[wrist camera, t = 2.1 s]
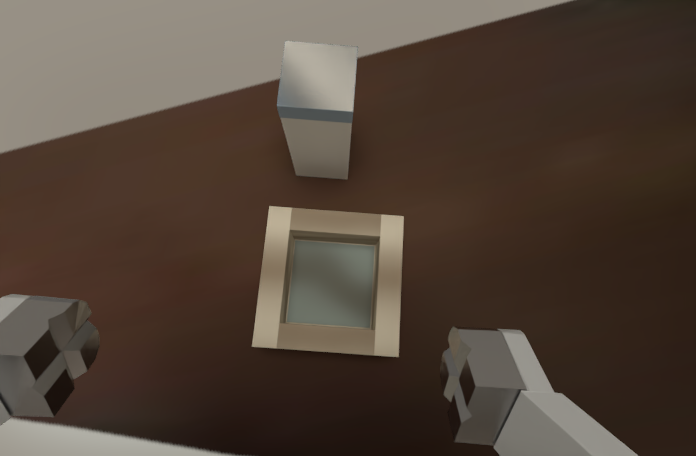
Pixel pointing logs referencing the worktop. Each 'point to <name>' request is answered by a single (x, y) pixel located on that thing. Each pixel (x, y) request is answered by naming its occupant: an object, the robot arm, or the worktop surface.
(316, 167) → the peg
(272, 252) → the holder
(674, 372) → the worktop surface
